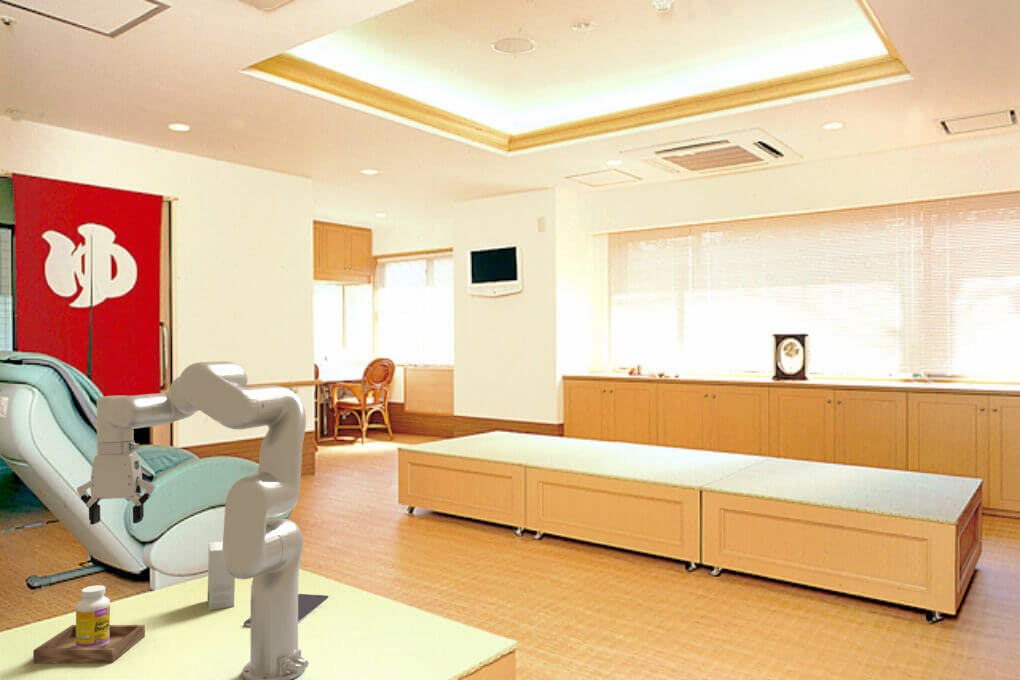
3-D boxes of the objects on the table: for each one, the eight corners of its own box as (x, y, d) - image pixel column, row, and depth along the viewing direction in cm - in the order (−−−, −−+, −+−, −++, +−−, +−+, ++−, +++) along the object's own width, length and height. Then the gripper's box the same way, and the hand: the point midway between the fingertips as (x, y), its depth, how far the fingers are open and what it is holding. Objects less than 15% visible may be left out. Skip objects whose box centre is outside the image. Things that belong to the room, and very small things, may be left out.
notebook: (285, 598, 198) (243, 628, 177) (285, 592, 198) (243, 622, 177) (329, 601, 196) (292, 632, 175) (329, 595, 196) (292, 625, 175)
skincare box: (207, 600, 195) (207, 542, 195) (233, 596, 198) (233, 539, 198) (208, 610, 188) (208, 550, 188) (236, 606, 190) (236, 547, 190)
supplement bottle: (94, 653, 160) (94, 594, 160) (68, 650, 161) (68, 592, 161) (116, 641, 166) (116, 584, 166) (91, 638, 168) (91, 582, 168)
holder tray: (144, 636, 171) (144, 624, 171) (112, 662, 157) (112, 649, 157) (72, 637, 171) (72, 625, 171) (33, 663, 157) (33, 650, 157)
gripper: (160, 445, 173) (161, 517, 173) (86, 447, 173) (87, 519, 172) (145, 450, 166) (146, 525, 165) (68, 452, 165) (69, 527, 165)
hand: (116, 522), depth 169 cm, fingers open, 9 cm apart
